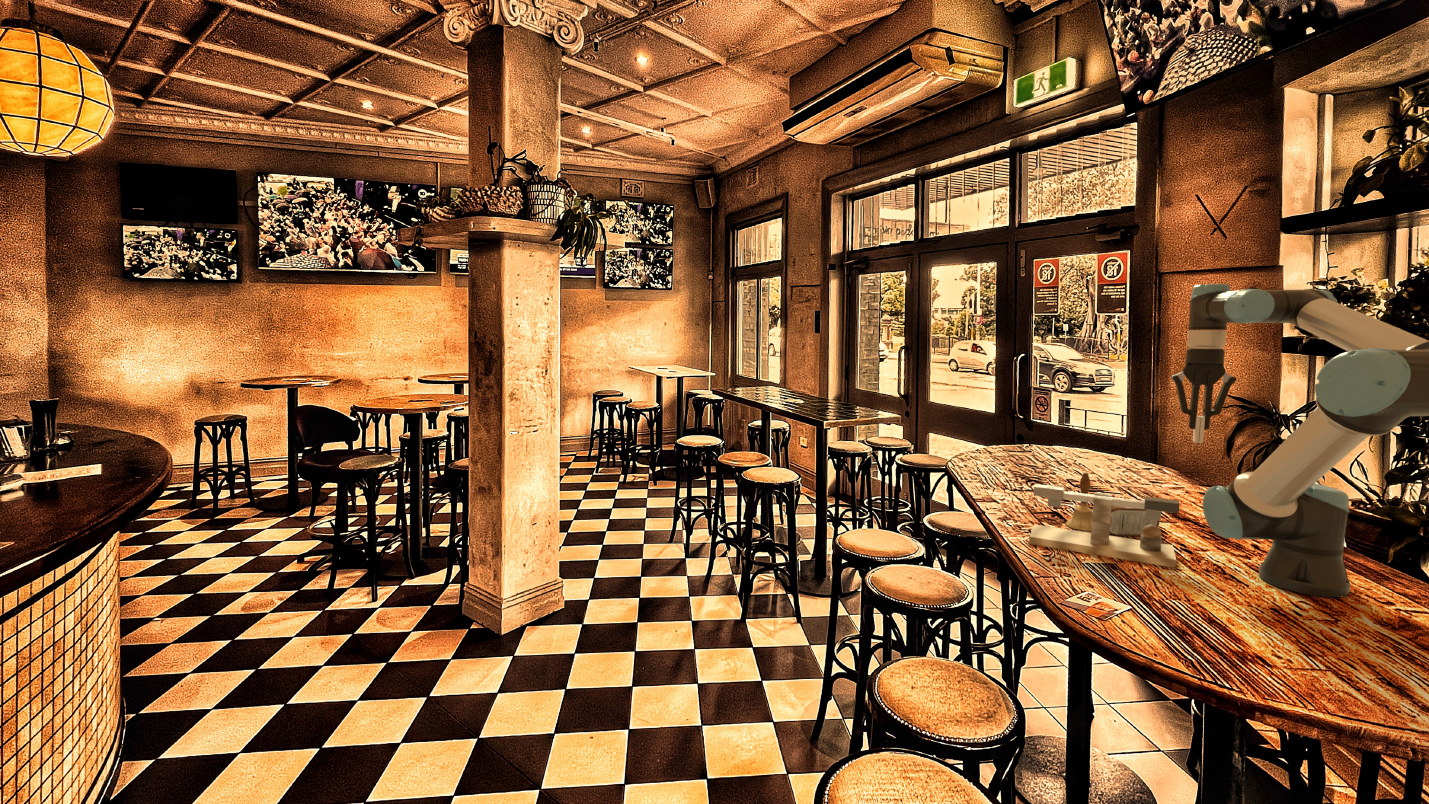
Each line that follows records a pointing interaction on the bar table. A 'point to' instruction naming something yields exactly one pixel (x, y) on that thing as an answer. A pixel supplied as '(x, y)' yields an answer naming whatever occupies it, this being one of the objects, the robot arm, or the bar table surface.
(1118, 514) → the tin
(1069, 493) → the lever
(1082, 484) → the hand bell
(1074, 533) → the press base
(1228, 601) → the bar table surface
